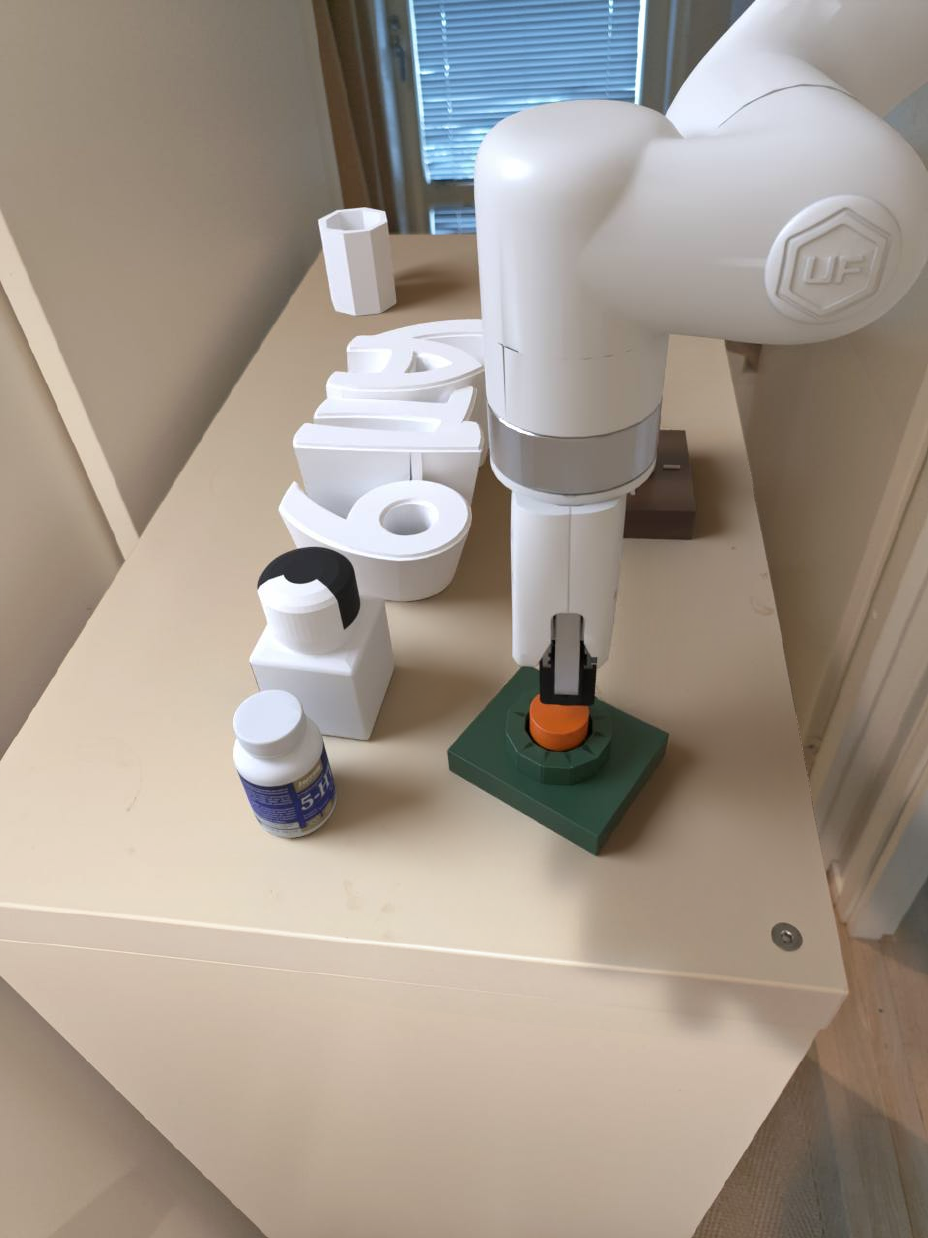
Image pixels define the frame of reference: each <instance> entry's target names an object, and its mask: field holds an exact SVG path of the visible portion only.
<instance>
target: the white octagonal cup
mask: <svg viewBox="0 0 928 1238" xmlns="http://www.w3.org/2000/svg"><path fill="white" fill-rule="evenodd" d="M317 222H318V229H319V234H320V239H321V247H322V252H323V257H324V258H323V259H324V263H325V264H324V265H325V270H326V276H327V281H328V288H329V293H330V299H331V303H332V306H333V308H334V310H335V312H337V313H341V314H344V315H345V314H346V315H348V316H349V315H350V316H354V317H359V316H369V315H379V314H382V313H384V312H385V311H387V310H389V309H390V308H392V307H393V306H395V305H397V304H398V303H397V295H396V294H397V293H396V286H395V284H396V283H395V277H394V276H395V275H394V267H393V259H392V251H391V241H390V231H389V224H388V218H387V213H386V211H385V210H380V209H375V208H371V207H354V208H345V209H344V208H343V209H336V210H335V211H332V212H331V213H328V214H326V215H324V216H322V217H321V218H319V219H317Z"/></svg>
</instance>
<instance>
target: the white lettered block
mask: <svg viewBox="0 0 928 1238" xmlns="http://www.w3.org/2000/svg"><path fill="white" fill-rule="evenodd" d="M346 360H347V361H346V363H347V371H338V370H337V371H336V370H335V371H333V372H332V374H331V375H330V376H329V378H328V379H327V381H326V384H325V390H326V391H325V392H326V398H325V399H324V401H322V402H321V403H320V404H319V406H318V407H317V409H316V410H315V412H314V415H313V418H312V420H313V423H309V422H304V423H303V424H302V425H301V426H300V427H299V428H298V430H296V432H295V434H294V436H293V439H292V447H293V451H294V453H295V457H296V461H297V464H298V468H299V471H300V475H301V479H302V482H303V485H304V490H305V491H304V490H303V489H302V487H300V485H299V484H298V483H297V481H295V480H293V482H292V483H291V485H290V486H289V487H288V489H287V490H286V492H285V495H284V496H283V498H282V499H281V502H280V504H279V506H278V513H279V514H280V516H281V518H282V520H283V522H284V525H285V526H286V528H287V530H288V532H289V534H290V536H291V538H292V540H293V542H294V544H295V546H296V549H299V548H304V547H323V548H328V549H332V550H334V551H336V552H338V553H340V554H342V555H344V556H345V557H346V558H347V559H348V560H349V561H350V562H351V564H352V565H353V568H354V571H355V576H356V582H357V587H358V592H359V594H360V595H370V596H379V597H382V598H383V599H384V601H391V602H392V601H393V602H413V601H420V600H421V601H422V600H424V599H427V598H431V597H433V596H435V595H438V594H440V593H441V592H442V591H443V590H445V589H446V588H448V586H449V585H450V584H451V583H452V581H453V579H454V577H455V575H456V572H457V569H458V565H459V562H460V559H461V556H462V553H463V550H464V547H465V545H466V544H465V543H466V542H467V541H466V540H467V538H468V535H469V531H470V529H471V525H472V519H473V513H472V504H473V498H474V494H475V488H476V484H477V483H476V482H477V478H478V474H479V468H482V466H484V464H485V463H486V460H487V456H488V453H489V451H490V449H489V433H488V416H487V400H486V397H487V394H486V380H485V364H484V346H483V328H482V318H480V319H479V318H474V319H473V318H468V319H467V318H466V319H465V318H464V319H463V318H462V319H450V320H439V321H438V320H437V321H430V322H424V323H423V322H422V323H417V324H411V325H407V326H403V327H402V326H401V327H398V328H395V329H391V330H387V331H384V332H381V333H377V334H375V335H374V334H372V335H371V334H370V335H368V334H367V335H366V334H365V335H356V336H354V338H353V339H351V340H350V342H349V343H348V344H347V346H346Z"/></svg>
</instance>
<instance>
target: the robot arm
mask: <svg viewBox="0 0 928 1238" xmlns="http://www.w3.org/2000/svg"><path fill="white" fill-rule="evenodd" d="M927 82H928V0H754V1H753V2H752V3H751V4H750V5H749V6H748V8H747V9H746V10H745V11H744V12H743V13H742V14H741V15H740V17H738V18H737V19H736V21H734V23H733V24H731V26H730V27H729V28H728V29H727V31H726V32H724V33H723V35H722V36H721V37H720V38H719V39H718V40H717V41H716V42H715V43H714V44H713V46H712V47H711V48H710V49H709V50H708V52H706V54H705V55H704V56H703V57H702V58H701V60H700V61H699V62H698V63H697V65H696V66H695V67H694V68H693V70H692V71H691V72H690V74H689V75H688V77H687V78H686V79H685V81H684V82H683V84H682V85H681V86H680V89H679V90H678V92H677V94H676V95H675V97H674V99H673V100H672V102H671V104H670V105H669V107H668V109H667V111H666V113H665V115H664V114H662V113H661V112H660V111H657V110H655V109H653V108H650V107H647V106H644V105H641V104H637V103H633V102H629V101H624V100H623V101H622V100H614V99H613V100H612V99H572V100H563V101H562V100H561V101H556V102H548V103H543V104H539V105H535V106H532V107H528V108H525V109H523V110H520V111H518V112H515V113H513V114H511V115H509V116H505V118H503V119H501V120H500V121H498V122H497V123H496V124H495V125H494V126H493V127H492V128H491V129H490V130H489V131H488V132H487V133H486V134H485V136H484V138H483V140H482V141H481V143H480V146H479V147H478V150H477V153H476V157H475V161H474V167H473V198H474V213H475V214H474V215H475V230H476V232H475V233H476V244H477V245H476V246H477V262H478V263H477V264H478V277H479V278H478V279H479V295H480V308H481V310H480V311H481V319H482V328H483V346H484V364H485V380H486V394H487V397H486V400H487V416H488V433H489V460H490V467H491V470H492V472H493V474H494V475H495V477H496V478H497V480H498V481H499V482H500V483H501V484H502V485H503V486H505V487H506V488H508V490H511V500H510V568H511V569H510V574H511V577H510V578H511V618H512V619H511V620H512V624H511V625H512V631H511V632H512V633H511V635H512V641H511V642H512V645H511V646H512V649H511V651H512V653H511V654H512V655H511V656H512V659H513V660H514V662H515V664H517V665H518V666H519V667H522V666H528V667H534V668H536V667H537V666H538V667H539V668H538V670H539V680H540V702H541V703H543V704H550V705H563V706H574V705H575V706H591V705H593V704H594V703H595V696H596V687H597V685H596V684H597V669H599V668H601V667H602V666H604V665H605V664H606V663H607V662H608V660H609V657H610V653H611V646H612V645H611V644H612V638H613V632H614V631H613V630H614V624H615V618H616V617H615V616H616V608H617V600H618V593H619V592H618V591H619V583H620V575H621V565H622V556H623V555H622V554H623V553H622V552H623V545H624V544H623V541H624V537H623V532H624V521H625V510H626V497H627V493H629V492H631V491H633V490H634V489H636V488H637V487H639V486H640V485H641V484H642V483H644V482H645V481H646V480H647V479H648V478H649V476H650V474H651V473H652V471H653V469H654V467H655V463H656V456H657V447H658V438H659V428H660V429H661V425H660V418H661V419H662V409H663V398H664V395H663V394H664V387H665V377H666V367H667V357H668V350H669V340H670V335H679V336H687V337H689V336H690V337H698V338H707V339H714V340H723V341H729V342H730V341H731V342H736V343H737V342H739V343H745V344H746V343H747V344H757V345H769V346H772V345H774V346H798V345H809V344H815V343H823V342H826V341H830V340H834V339H838V338H841V337H844V336H846V335H849V334H851V333H854V332H856V331H858V330H860V329H863V328H865V327H866V326H868V325H870V324H872V323H873V322H874V321H876V320H878V319H880V318H881V317H883V316H884V315H885V314H886V313H887V312H889V311H890V310H891V309H892V308H894V307H895V306H896V305H897V304H898V303H899V302H900V300H902V298H904V296H905V295H906V294H907V293H908V292H910V289H912V287H913V286H914V284H915V283H916V282H917V280H918V279H919V278H920V275H921V274H922V271H923V270H924V269H925V266H926V264H927V263H928V170H927V168H926V166H925V164H924V162H923V161H922V159H921V158H920V157H921V156H919V154H918V153H917V152H916V150H915V149H914V148H913V147H912V146H911V144H910V143H909V142H908V141H907V140H906V139H905V138H904V137H903V136H902V135H901V134H900V133H899V132H898V131H897V130H896V129H895V128H893V127H892V126H891V125H889V123H887V122H886V121H885V120H883V119H884V117H886V116H887V115H888V114H889V113H890V112H891V111H893V109H895V108H896V107H897V106H899V104H901V103H902V102H904V100H905V99H907V98H908V97H909V96H910V95H911V94H913V93H914V92H916V90H917V89H919V88H920V87H921V86H923V85H925V83H927Z"/></svg>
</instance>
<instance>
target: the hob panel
mask: <svg viewBox="0 0 928 1238" xmlns="http://www.w3.org/2000/svg"><path fill="white" fill-rule="evenodd" d="M694 493H695V491H694V484H693V477H692V469H691V463H690V454H689V446H688V440H687V431H686V429H660V433H659V441H658V449H657V457H656V465H655V470H654V472H653V473H652V474H651V475H650V476H649V478H648V479H647V480H646V481H645V482H644V483H642V484H641V485H640V486H639V487H637V488H636V489H634V490H633V491H631V492H629V493H627V497H626V510H625V521H624V532H623V538H628V539H630V538H631V539H662V540H692V537H693V532H694V526H695V520H696V515H697V508H696V499H695V494H694Z"/></svg>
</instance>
